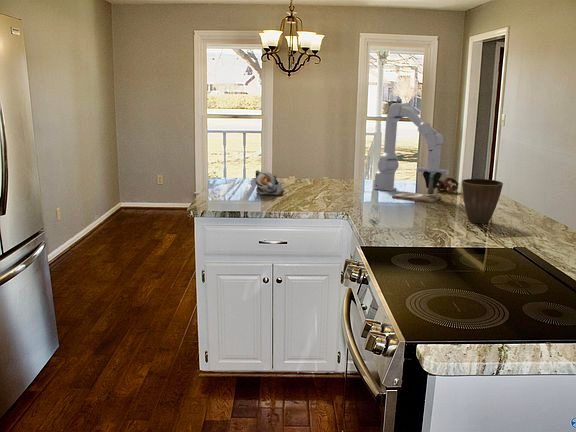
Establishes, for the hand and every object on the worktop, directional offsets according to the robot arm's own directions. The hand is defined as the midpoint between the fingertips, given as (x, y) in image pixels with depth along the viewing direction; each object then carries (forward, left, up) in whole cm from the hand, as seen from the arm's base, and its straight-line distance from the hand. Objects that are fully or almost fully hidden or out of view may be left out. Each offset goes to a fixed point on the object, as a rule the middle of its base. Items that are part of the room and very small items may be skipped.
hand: (431, 188), depth 255 cm
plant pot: (+30, -36, -5) cm, 46 cm away
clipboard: (-5, -4, -5) cm, 8 cm away
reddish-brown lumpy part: (+1, +22, -5) cm, 23 cm away
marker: (0, 0, -3) cm, 3 cm away
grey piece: (-66, -38, -5) cm, 77 cm away
